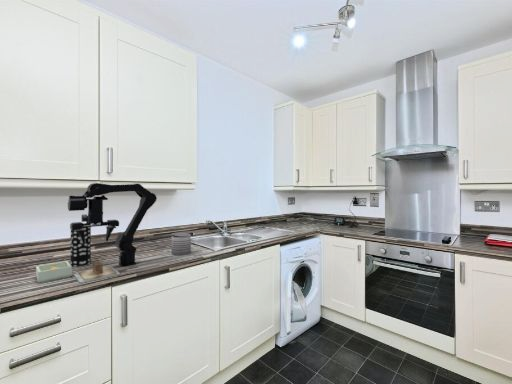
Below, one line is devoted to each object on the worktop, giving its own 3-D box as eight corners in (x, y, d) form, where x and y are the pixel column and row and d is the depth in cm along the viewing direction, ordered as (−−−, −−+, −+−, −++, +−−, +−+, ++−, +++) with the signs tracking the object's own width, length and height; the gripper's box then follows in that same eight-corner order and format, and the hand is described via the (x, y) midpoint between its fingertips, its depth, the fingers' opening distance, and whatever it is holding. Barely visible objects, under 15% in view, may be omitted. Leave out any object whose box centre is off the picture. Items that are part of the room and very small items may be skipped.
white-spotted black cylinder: (94, 261, 129) (94, 223, 129) (83, 266, 121) (83, 226, 120) (78, 261, 129) (78, 223, 128) (66, 266, 120) (66, 226, 120)
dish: (67, 270, 115) (67, 260, 115) (71, 276, 107) (71, 266, 107) (35, 276, 107) (35, 266, 107) (38, 283, 99) (38, 272, 99)
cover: (108, 267, 118) (108, 257, 118) (116, 273, 109) (116, 263, 109) (78, 273, 109) (78, 263, 109) (84, 280, 101) (84, 269, 101)
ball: (57, 273, 109) (57, 265, 109) (59, 273, 107) (58, 266, 107) (48, 275, 107) (48, 267, 107) (49, 276, 105) (49, 268, 105)
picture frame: (111, 267, 119) (111, 266, 119) (120, 274, 110) (120, 273, 110) (74, 275, 108) (74, 274, 108) (80, 283, 99) (80, 282, 99)
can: (176, 250, 153) (176, 231, 153) (194, 251, 152) (194, 232, 152) (167, 255, 142) (167, 234, 142) (185, 256, 140) (186, 235, 140)
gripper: (112, 207, 127) (112, 237, 128) (67, 209, 114) (67, 243, 114) (119, 209, 120) (119, 240, 120) (72, 211, 106) (72, 247, 107)
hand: (95, 242), depth 115 cm, fingers open, 9 cm apart
